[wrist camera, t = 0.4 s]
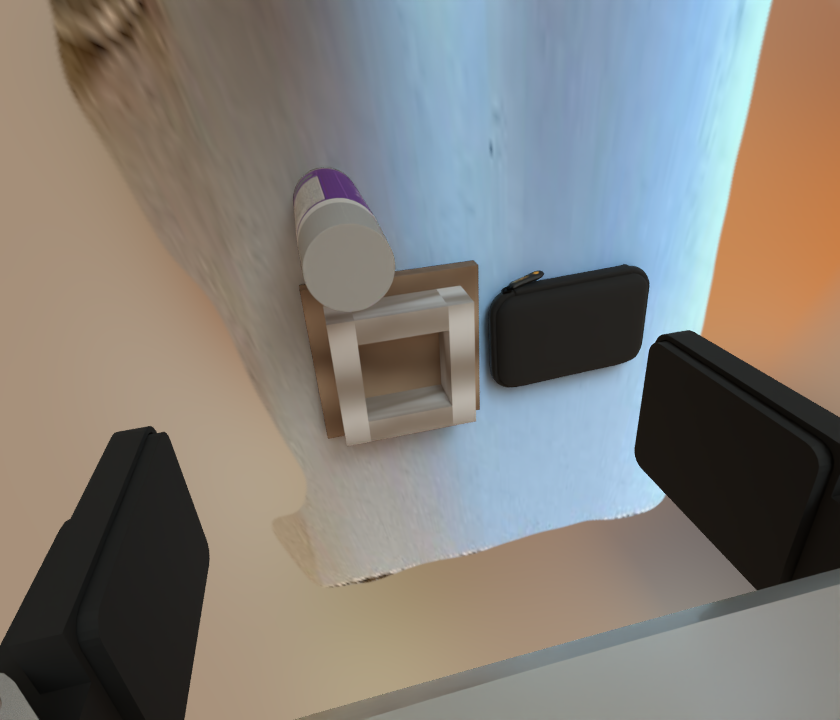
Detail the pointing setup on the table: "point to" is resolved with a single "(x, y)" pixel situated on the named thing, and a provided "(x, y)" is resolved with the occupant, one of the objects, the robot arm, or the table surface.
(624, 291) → the carrying case or bag
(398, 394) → the mount
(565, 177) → the table surface
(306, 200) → the container
